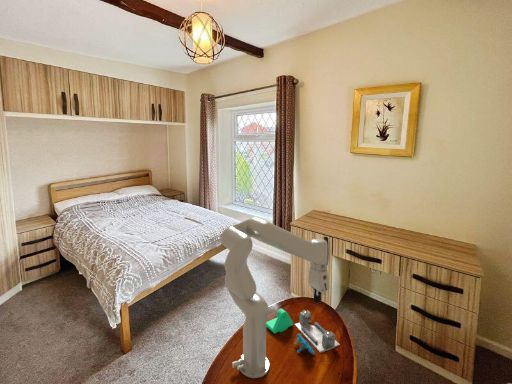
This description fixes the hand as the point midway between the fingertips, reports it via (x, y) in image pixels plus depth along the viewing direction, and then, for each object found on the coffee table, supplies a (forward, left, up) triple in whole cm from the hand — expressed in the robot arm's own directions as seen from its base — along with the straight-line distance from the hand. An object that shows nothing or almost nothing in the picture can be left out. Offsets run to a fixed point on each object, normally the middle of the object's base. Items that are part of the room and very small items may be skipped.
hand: (317, 301), depth 126 cm
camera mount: (-14, +13, -18) cm, 26 cm away
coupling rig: (0, 0, -17) cm, 17 cm away
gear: (-9, -7, -19) cm, 22 cm away
